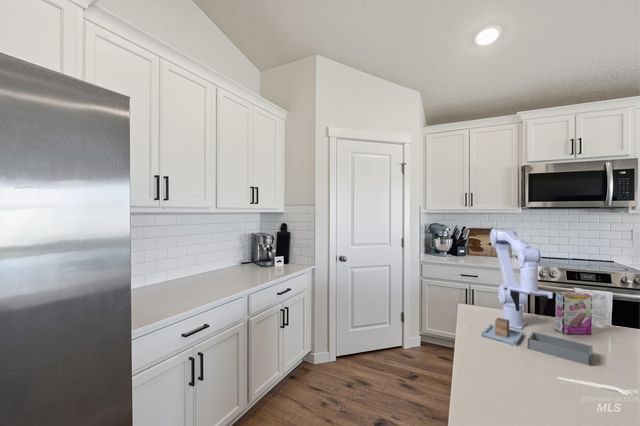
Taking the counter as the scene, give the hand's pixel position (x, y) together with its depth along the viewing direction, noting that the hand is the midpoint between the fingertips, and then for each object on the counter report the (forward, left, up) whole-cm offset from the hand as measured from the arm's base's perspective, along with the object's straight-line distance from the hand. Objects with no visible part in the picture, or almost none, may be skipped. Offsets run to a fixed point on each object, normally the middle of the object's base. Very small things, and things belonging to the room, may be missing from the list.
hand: (529, 312), depth 115 cm
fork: (+24, +21, -11) cm, 34 cm away
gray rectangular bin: (+6, +10, -10) cm, 15 cm away
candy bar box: (-20, +12, -11) cm, 26 cm away
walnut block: (+5, -8, -10) cm, 14 cm away
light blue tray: (+5, -8, -10) cm, 14 cm away
